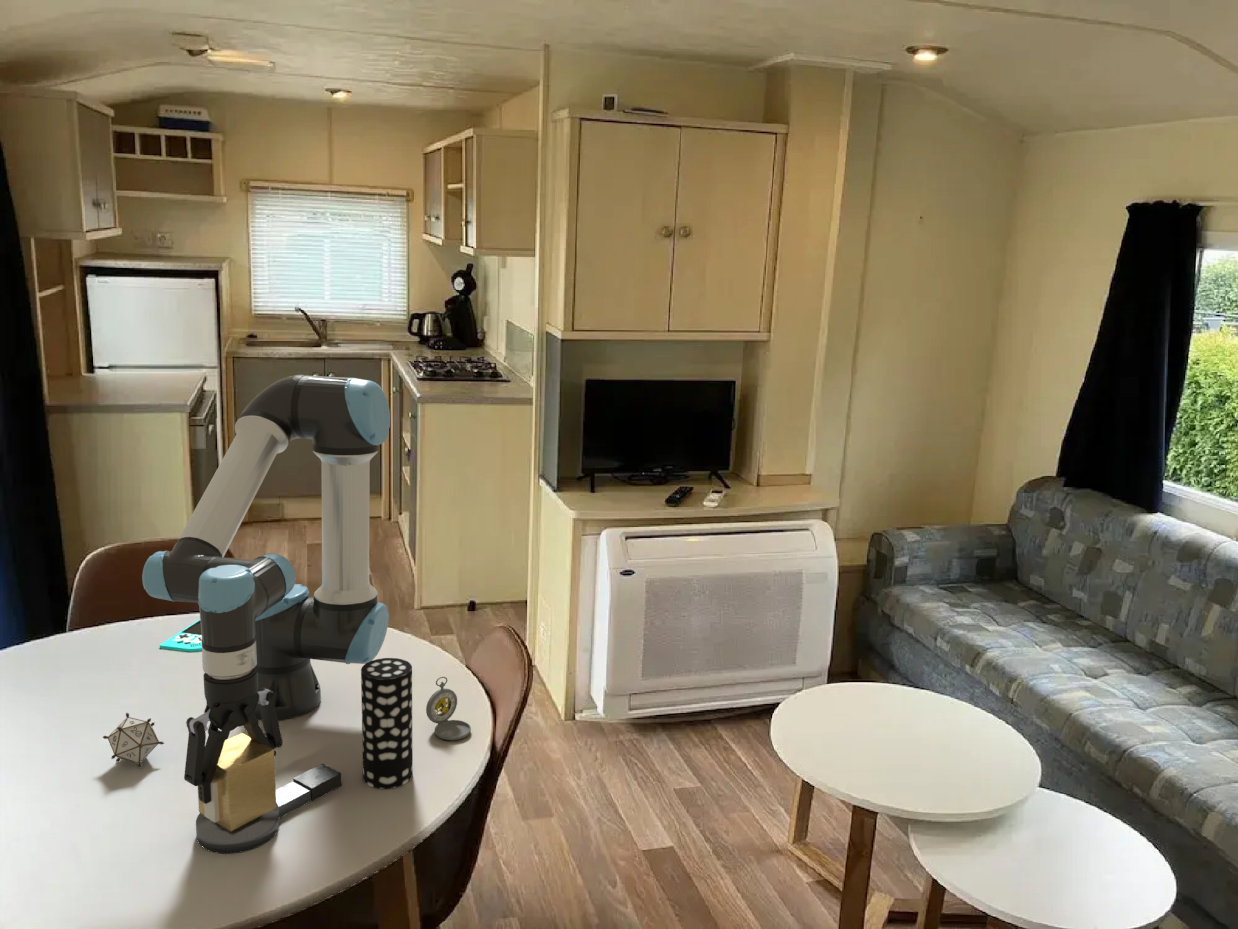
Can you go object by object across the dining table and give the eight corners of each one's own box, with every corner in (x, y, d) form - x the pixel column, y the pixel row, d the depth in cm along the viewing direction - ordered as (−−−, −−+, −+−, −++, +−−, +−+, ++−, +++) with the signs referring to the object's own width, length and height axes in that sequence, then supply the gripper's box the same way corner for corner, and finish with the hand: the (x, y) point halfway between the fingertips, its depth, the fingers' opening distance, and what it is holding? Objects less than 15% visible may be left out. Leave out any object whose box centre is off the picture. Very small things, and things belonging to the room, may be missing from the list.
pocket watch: (463, 744, 182) (463, 694, 180) (420, 738, 184) (420, 688, 181) (478, 723, 190) (478, 675, 188) (436, 717, 191) (436, 669, 189)
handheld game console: (158, 650, 216) (157, 644, 216) (200, 622, 232) (200, 617, 231) (200, 655, 215) (199, 649, 214) (240, 627, 230) (240, 621, 230)
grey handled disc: (309, 769, 172) (307, 724, 170) (355, 793, 165) (354, 747, 163) (180, 833, 152) (177, 783, 150) (227, 864, 146) (224, 812, 144)
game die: (149, 777, 174) (183, 733, 173) (111, 784, 166) (147, 739, 165) (120, 741, 177) (154, 698, 176) (82, 746, 169) (117, 702, 168)
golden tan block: (199, 812, 152) (195, 753, 150) (244, 789, 159) (242, 733, 156) (230, 831, 148) (227, 771, 145) (276, 807, 154) (273, 749, 152)
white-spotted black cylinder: (388, 794, 165) (386, 684, 160) (352, 778, 169) (350, 670, 165) (422, 773, 172) (422, 666, 167) (387, 758, 176) (386, 653, 172)
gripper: (179, 702, 137) (189, 847, 143) (304, 653, 154) (309, 785, 159) (149, 686, 141) (160, 827, 147) (274, 641, 158) (279, 769, 163)
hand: (237, 805), depth 153 cm, fingers closed on golden tan block, 8 cm apart
